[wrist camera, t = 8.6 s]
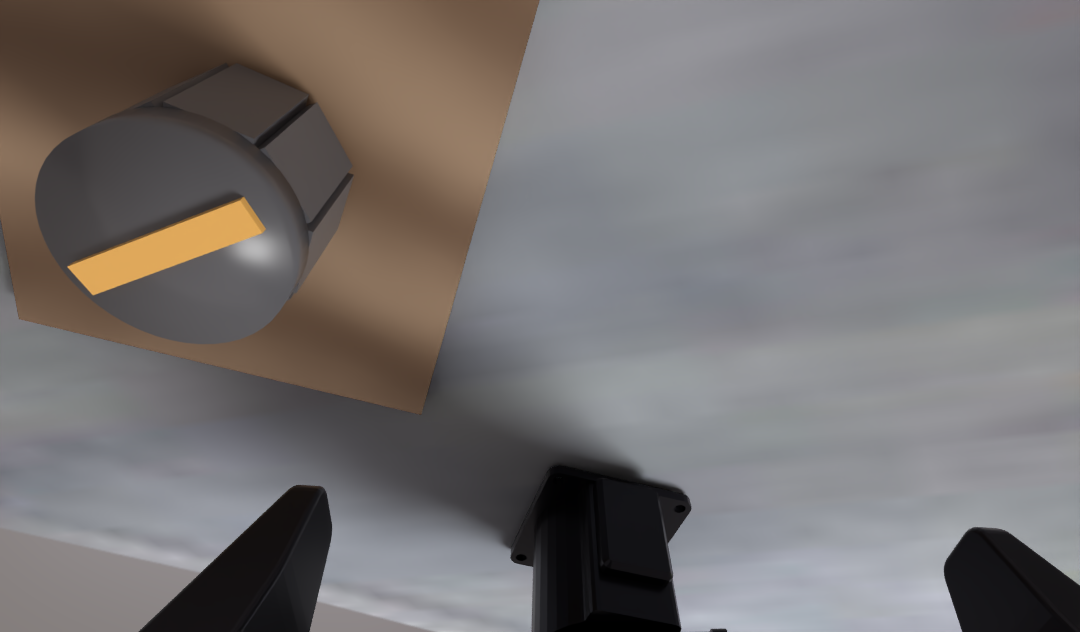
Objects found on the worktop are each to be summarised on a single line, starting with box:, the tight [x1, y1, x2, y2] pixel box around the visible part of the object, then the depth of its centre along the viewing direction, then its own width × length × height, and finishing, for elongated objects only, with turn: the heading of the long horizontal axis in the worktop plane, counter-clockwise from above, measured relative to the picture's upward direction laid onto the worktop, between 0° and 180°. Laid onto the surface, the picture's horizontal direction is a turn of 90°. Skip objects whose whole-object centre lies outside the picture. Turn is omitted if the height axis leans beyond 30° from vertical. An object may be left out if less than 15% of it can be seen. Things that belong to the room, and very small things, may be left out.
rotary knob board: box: [0, 0, 539, 415], centre depth 16 cm, size 18×14×5 cm
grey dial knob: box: [35, 63, 354, 344], centre depth 16 cm, size 7×5×5 cm
